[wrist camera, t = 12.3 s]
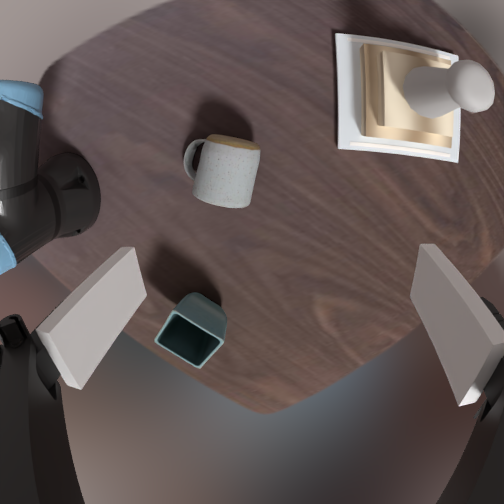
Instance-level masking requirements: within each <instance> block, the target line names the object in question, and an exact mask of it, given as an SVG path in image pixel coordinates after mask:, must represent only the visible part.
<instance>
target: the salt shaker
mask: <svg viewBox="0 0 504 504" xmlns="http://www.w3.org/2000/svg"><path fill="white" fill-rule="evenodd" d="M403 91H404V97H405V99H406V101H407V103H408V104H409V106H410V108H411V109H412V110H414V111H415V112H416V113H418V114H419V115H421V116H424V117H427V118H431V119H434V118H437V117H440V116H443V115H445V114H447V113H449V112H451V111H453V110H455V109H457V108H459V107H461V108H462V109H465V110H468V111H471V112H475V113H476V112H479V111H484V110H487V109H488V108H489V107H490V106H491V105H492V104H493V100H494V95H495V91H494V85H493V81H492V79H491V77H490V75H489V73H488V72H487V71H486V70H485V69H484V68H483V67H482V66H481V65H480V64H479V63H477V62H474V61H472V60H461V61H457V62H454V63H453V64H452V65H451V66H450V68H449V69H447V68H438V67H427V66H422V67H417V68H413V69H412V70H411V71H410V72H409V73H408V74H407V75H406V76H405V80H404V83H403Z"/></svg>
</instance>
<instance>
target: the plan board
mask: <svg viewBox="0 0 504 504" xmlns="http://www.w3.org/2000/svg"><path fill="white" fill-rule="evenodd" d="M364 43H366V44H374V45H381V46H387V47H393V48H399V49H404V50H409V51H414V52H419V53H423V54H427V55H431V56H435V57H439V58H443V59H447V60H450V61H451V65H452V64H453V63H454V62H457V61H458V56H457V55H453V54H450V53H447V52H443V51H439V50H435V49H432V48H428V47H423V46H419V45H414V44H410V43H405V42H400V41H394V40H388V39H382V38H375V37H368V36H360V35H351V34H339V33H336V34H335V45H336V64H337V95H338V147H337V148H338V149H350V150H363V151H374V152H385V153H394V154H403V155H411V156H418V157H425V158H432V159H439V160H445V161H451V162H457V163H458V157H459V142H460V107H459V108H457V109H455V110H454V119H453V137H452V146H451V148H447V147H441V146H435V145H429V144H423V143H416V142H409V141H401V140H393V139H385V138H375V137H365V136H362V135H361V69H360V50H359V48H360V47H361V46H362V45H363V44H364Z"/></svg>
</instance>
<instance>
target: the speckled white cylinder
mask: <svg viewBox="0 0 504 504" xmlns="http://www.w3.org/2000/svg"><path fill="white" fill-rule="evenodd" d="M201 143H204V145H203V148H202V152H201V157H200V162H199V165H198V169H197V173H195V172H194V169H193V166H192V160H193V157H194V154H195V151H196V149H197V146H198V145H199V144H201ZM259 160H260V147H259V145H258V144H257V143H254V142H251V141H248V140H244V139H240V138H235V137H230V136H225V135H218V134H212V135H210V136H208V137H207V139H198V140H195V141H193V142H192V143H191V144H190V145H189V146H188V148H187V150H186V152H185V155H184V168H185V171H186V173H187V174H188V176H189V177H190V178H191V179H192V180H193V181H194V185H193V191H192V193H193V195H194V196H195V197H197V198H198V199H200V200H202V201H204V202H207V203H210V204H213V205H218V206H223V207H228V208H243V207H246V206H248V205H249V204H250V201H251V196H252V191H253V187H254V183H255V178H256V173H257V169H258V164H259Z"/></svg>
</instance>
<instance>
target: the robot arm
mask: <svg viewBox="0 0 504 504" xmlns="http://www.w3.org/2000/svg"><path fill="white" fill-rule="evenodd" d="M43 97H44V93H43V90H42V88H41V87H40V86H39V85H37V84H34V83H29V82H22V81H11V80H0V275H1V274H2V273H4V272H6V271H7V270H9V269H11V268H14V267H15V266H16V265H17V264H18V263H20V262H21V261H22V260H24V259H25V258H27V257H28V256H29V255H31V254H32V253H34V252H35V251H37V250H38V249H39V248H41V247H42V246H44V245H45V244H47V243H48V242H50V241H52V240H53V239H56V238H64V237H71V236H76V235H79V234H81V233H83V232H84V231H86V230H87V229H89V228H90V227H91V226H92V225H93V224H94V223H95V221H96V219H97V217H98V214H99V210H100V202H101V198H100V189H99V184H98V181H97V178H96V176H95V174H94V172H93V170H92V168H91V167H90V165H89V164H88V163H87V162H86V161H85V160H84V159H83V158H82V157H80V156H78V155H76V154H74V153H63V154H59V155H56V156H53V157H51V158H50V159H48V160H47V161H46V162H45V163H44V164H43V165H41V166H40V167H39V168H38V156H39V141H40V130H41V121H42V119H43V115H42V107H43ZM146 296H147V294H146V291H145V287H144V284H143V280H142V276H141V272H140V268H139V265H138V261H137V257H136V252H135V248H134V247H121V248H120V249H119V250H118V251H116V252H115V253H114V254H113V255H112V256H111V257H110V258H109V259H107V260H106V261H105V262H104V263H103V264H102V265H101V266H100V267H99V268H98V269H96V270H95V271H94V272H93V273H92V274H91V275H90V276H89V277H88V278H87V279H86V280H85V281H84V282H83V283H81V284H80V285H79V286H78V287H77V288H76V289H75V290H74V291H73V292H72V293H71V294H70V295H69V296H68V297H67V298H66V299H65V300H64V301H62V302H61V303H60V304H59V305H58V306H57V307H56V308H55V310H53V311H52V312H51V313H50V314H49V316H47V317H46V318H45V319H44V320H43V321H42V322H41V323H40V324H39V325H38V326H37V327H36V329H35V330H34V331H33V332H32V333H31V334H30V333H29V331H28V329H27V328H26V325H25V323H24V321H23V319H22V317H21V316H20V315H18V314H13V315H9V316H7V317H5V318H4V319H2V320H1V321H0V340H1V342H2V343H3V345H0V504H85V502H84V500H83V496H82V493H81V490H80V486H79V483H78V479H77V475H76V472H75V467H74V464H73V460H72V455H71V450H70V446H69V440H68V435H67V430H66V424H65V418H64V411H63V404H62V396H61V387H60V384H59V382H58V381H57V379H58V378H59V376H60V375H61V376H62V377H63V379H64V381H65V382H66V384H67V385H69V386H71V387H74V388H77V389H80V390H81V389H82V388H83V387H84V385H85V384H86V382H87V380H88V379H89V377H90V376H91V374H92V373H93V371H94V370H95V368H96V367H97V365H98V364H99V362H100V361H101V359H102V358H103V356H104V355H105V354H106V352H107V351H108V349H109V348H110V346H111V345H112V343H113V342H114V341H115V339H116V338H117V336H118V335H119V333H120V332H121V331H122V329H123V328H124V326H125V325H126V324H127V322H128V321H129V319H130V318H131V317H132V315H133V314H134V312H135V311H136V310H137V308H138V307H139V305H140V304H141V303H142V301H143V300H144V299H145V297H146ZM410 298H411V300H412V302H413V304H414V306H415V308H416V310H417V312H418V314H419V316H420V318H421V320H422V322H423V324H424V326H425V328H426V330H427V332H428V334H429V336H430V338H431V341H432V343H433V345H434V347H435V350H436V352H437V354H438V356H439V358H440V361H441V363H442V366H443V368H444V370H445V373H446V375H447V378H448V380H449V383H450V385H451V388H452V390H453V393H454V395H455V398H456V400H457V403H458V406H462V405H466V404H470V403H474V402H476V401H477V400H478V398H479V396H480V395H481V393H482V392H483V390H484V392H485V394H486V397H487V399H486V400H485V401H484V403H483V404H482V406H481V407H480V409H479V410H478V411H477V413H476V414H475V416H474V417H473V418H475V419H476V418H477V416H478V415H479V416H478V419H477V422H476V424H475V427H474V429H473V432H472V434H471V437H470V439H469V441H468V444H467V446H466V448H465V450H464V452H463V455H462V457H461V459H460V461H459V463H458V465H457V467H456V469H455V471H454V473H453V475H452V477H451V478H450V480H449V482H448V484H447V486H446V488H445V489H444V491H443V493H442V494H441V496H440V498H439V500H438V501H437V503H436V504H504V318H503V317H502V316H501V314H499V312H498V311H497V309H496V308H495V307H494V305H493V304H492V303H490V302H489V301H488V300H486V299H485V298H483V297H479V296H478V295H477V293H476V292H475V291H474V290H473V288H472V287H471V286H470V285H469V283H468V282H467V281H466V280H465V278H464V277H463V276H462V275H461V274H460V272H459V271H458V270H457V269H456V268H455V267H454V265H453V264H452V263H451V262H450V261H449V260H448V258H447V257H446V256H445V255H444V254H443V253H442V252H441V251H440V250H439V248H438V247H437V246H436V245H435V244H420V247H419V253H418V259H417V264H416V270H415V275H414V280H413V284H412V289H411V294H410Z"/></svg>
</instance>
